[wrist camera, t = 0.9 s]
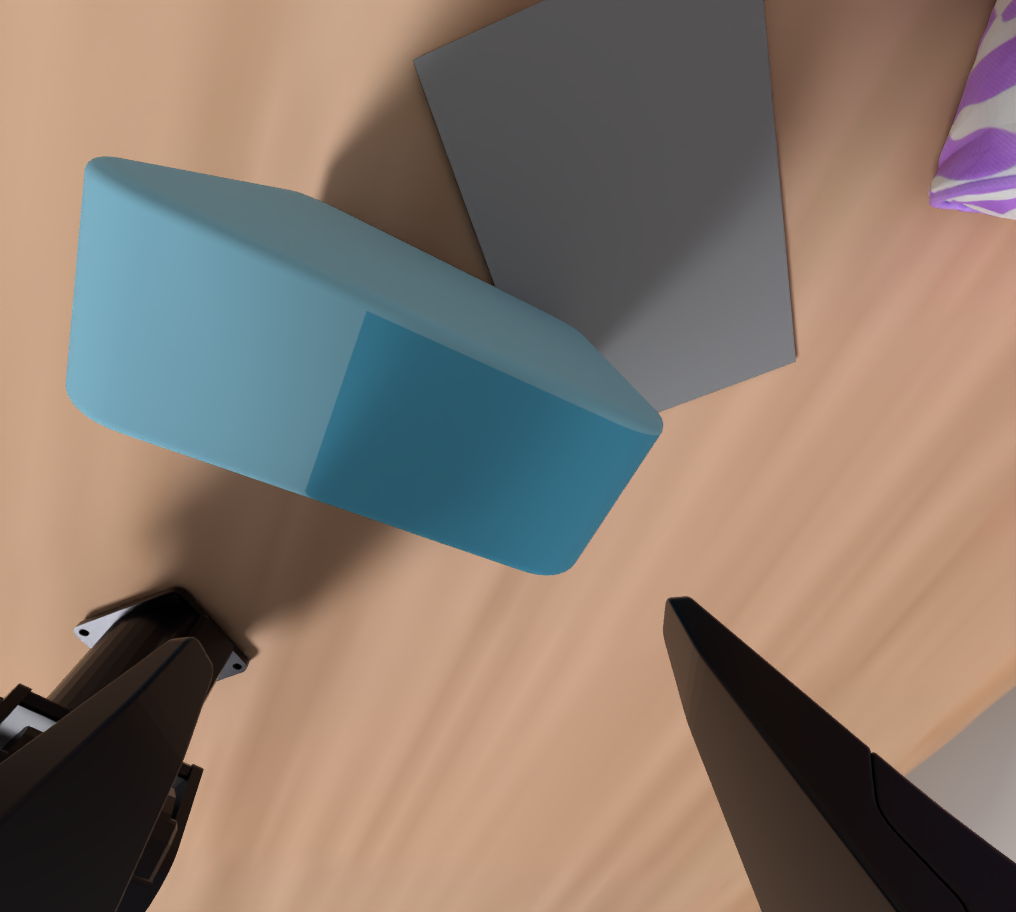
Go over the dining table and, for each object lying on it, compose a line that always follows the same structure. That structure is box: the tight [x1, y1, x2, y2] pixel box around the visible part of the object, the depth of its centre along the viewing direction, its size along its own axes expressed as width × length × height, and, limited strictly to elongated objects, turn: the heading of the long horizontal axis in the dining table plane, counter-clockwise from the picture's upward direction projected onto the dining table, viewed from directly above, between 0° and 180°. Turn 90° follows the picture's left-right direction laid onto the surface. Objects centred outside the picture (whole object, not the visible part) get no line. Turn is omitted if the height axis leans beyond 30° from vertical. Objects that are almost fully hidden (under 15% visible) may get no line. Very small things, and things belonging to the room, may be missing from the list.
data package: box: [66, 157, 663, 575], centre depth 14 cm, size 12×4×12 cm, turn 64°
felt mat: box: [413, 0, 796, 412], centre depth 19 cm, size 12×16×1 cm
